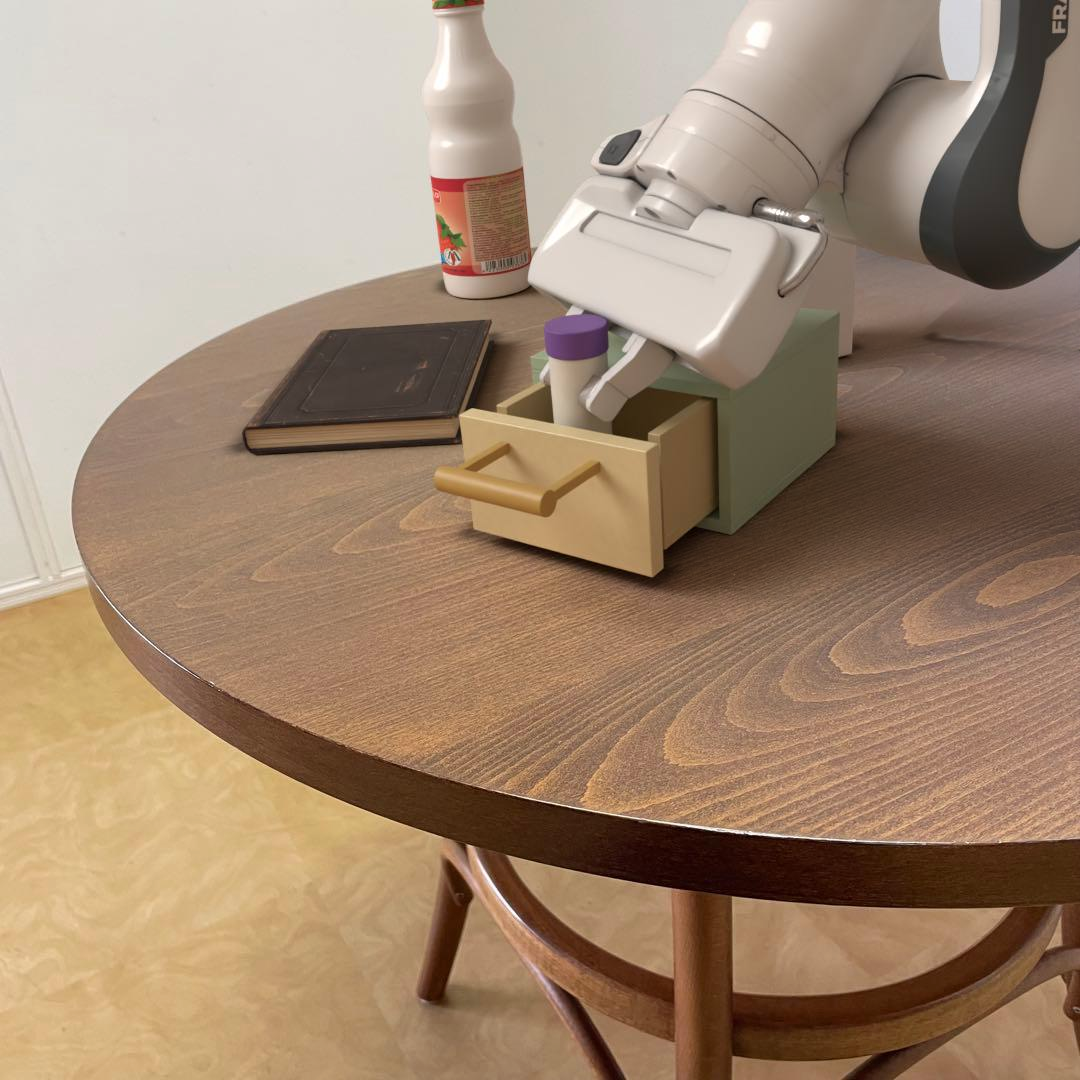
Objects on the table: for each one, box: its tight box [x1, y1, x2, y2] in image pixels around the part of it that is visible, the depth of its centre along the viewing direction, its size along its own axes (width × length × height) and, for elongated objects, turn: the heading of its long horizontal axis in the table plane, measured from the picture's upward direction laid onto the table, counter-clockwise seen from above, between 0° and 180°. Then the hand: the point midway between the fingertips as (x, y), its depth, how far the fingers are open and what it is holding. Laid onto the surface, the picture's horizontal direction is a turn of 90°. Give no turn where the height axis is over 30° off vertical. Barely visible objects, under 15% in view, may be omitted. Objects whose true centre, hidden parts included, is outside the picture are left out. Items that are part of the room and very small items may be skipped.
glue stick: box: [543, 314, 612, 435], centre depth 62 cm, size 3×3×10 cm
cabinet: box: [529, 308, 840, 536], centre depth 72 cm, size 15×14×9 cm
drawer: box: [433, 381, 719, 578], centre depth 64 cm, size 19×12×7 cm, turn 143°
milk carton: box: [801, 235, 857, 358], centre depth 88 cm, size 7×7×19 cm
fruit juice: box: [421, 0, 533, 300], centre depth 112 cm, size 9×9×28 cm
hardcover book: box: [241, 318, 495, 455], centre depth 92 cm, size 16×23×2 cm
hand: (571, 401), depth 62 cm, fingers closed on glue stick, 3 cm apart
